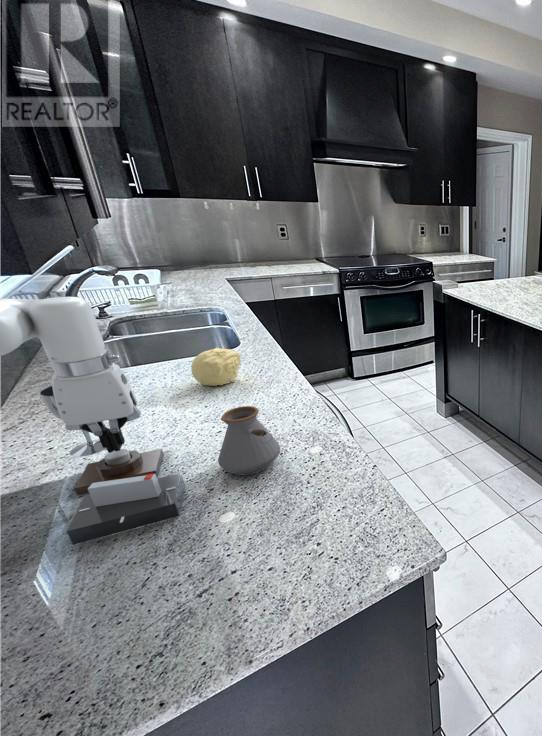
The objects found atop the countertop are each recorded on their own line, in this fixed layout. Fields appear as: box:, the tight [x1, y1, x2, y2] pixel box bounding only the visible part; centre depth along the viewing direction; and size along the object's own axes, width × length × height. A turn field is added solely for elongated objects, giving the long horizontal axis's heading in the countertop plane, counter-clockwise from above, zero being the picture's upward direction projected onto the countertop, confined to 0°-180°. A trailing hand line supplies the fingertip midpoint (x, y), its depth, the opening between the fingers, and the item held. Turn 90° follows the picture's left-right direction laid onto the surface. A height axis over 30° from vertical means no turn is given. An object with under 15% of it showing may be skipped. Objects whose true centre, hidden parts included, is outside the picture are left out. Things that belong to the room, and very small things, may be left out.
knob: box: [88, 474, 162, 507], centre depth 72 cm, size 9×2×4 cm, turn 111°
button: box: [104, 448, 131, 466], centre depth 82 cm, size 4×4×2 cm
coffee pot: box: [217, 405, 281, 476], centre depth 83 cm, size 21×12×15 cm, turn 47°
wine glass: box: [39, 385, 107, 457], centre depth 89 cm, size 8×8×15 cm
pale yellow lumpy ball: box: [190, 347, 242, 387], centre depth 124 cm, size 12×12×11 cm
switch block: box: [74, 448, 165, 496], centre depth 83 cm, size 12×9×4 cm
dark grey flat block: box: [66, 472, 186, 546], centre depth 74 cm, size 14×13×3 cm
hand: (115, 448), depth 82 cm, fingers closed
